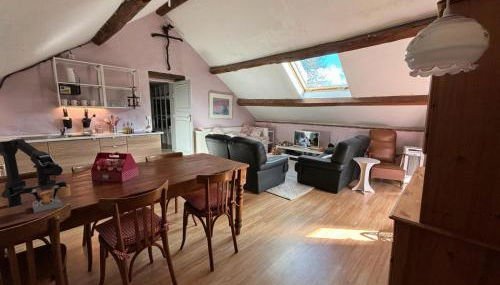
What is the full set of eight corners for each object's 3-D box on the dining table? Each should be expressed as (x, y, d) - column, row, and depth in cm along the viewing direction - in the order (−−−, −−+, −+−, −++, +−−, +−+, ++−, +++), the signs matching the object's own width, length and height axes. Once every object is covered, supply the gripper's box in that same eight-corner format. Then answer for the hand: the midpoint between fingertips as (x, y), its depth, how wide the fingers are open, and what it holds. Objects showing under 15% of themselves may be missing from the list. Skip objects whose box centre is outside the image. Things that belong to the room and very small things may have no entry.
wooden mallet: (73, 194, 155) (72, 184, 154) (63, 198, 147) (62, 188, 146) (48, 194, 155) (47, 184, 154) (36, 198, 147) (35, 188, 146)
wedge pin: (42, 207, 132) (41, 194, 131) (51, 205, 135) (49, 192, 134) (43, 208, 129) (41, 195, 129) (52, 206, 132) (50, 193, 131)
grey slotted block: (32, 207, 132) (32, 201, 131) (59, 201, 141) (58, 196, 140) (34, 213, 124) (33, 206, 123) (62, 206, 132) (61, 200, 132)
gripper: (21, 181, 118) (25, 209, 119) (66, 174, 131) (69, 199, 133) (20, 177, 125) (24, 203, 127) (63, 171, 139) (66, 195, 141)
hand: (46, 200), depth 132 cm, fingers open, 6 cm apart
